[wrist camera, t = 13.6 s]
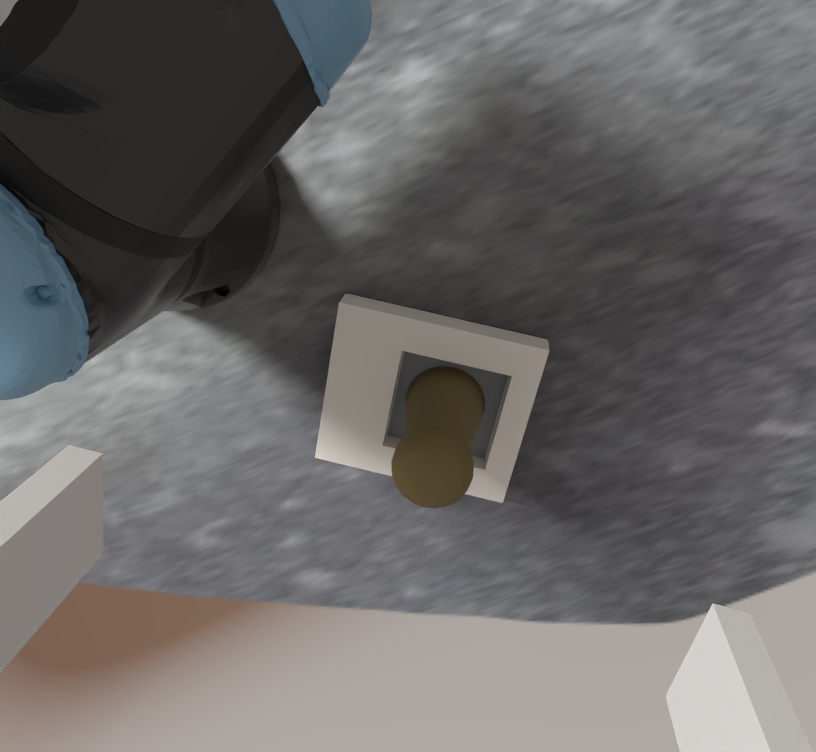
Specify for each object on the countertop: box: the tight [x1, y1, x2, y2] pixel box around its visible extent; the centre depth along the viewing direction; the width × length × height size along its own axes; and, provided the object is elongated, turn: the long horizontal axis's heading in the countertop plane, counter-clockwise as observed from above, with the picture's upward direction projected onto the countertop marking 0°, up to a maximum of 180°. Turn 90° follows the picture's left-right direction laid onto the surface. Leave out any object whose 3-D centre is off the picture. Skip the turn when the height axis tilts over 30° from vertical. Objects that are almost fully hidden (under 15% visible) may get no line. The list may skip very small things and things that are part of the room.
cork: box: [391, 366, 485, 508], centre depth 45 cm, size 6×6×11 cm
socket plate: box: [315, 293, 550, 503], centre depth 50 cm, size 15×13×2 cm
